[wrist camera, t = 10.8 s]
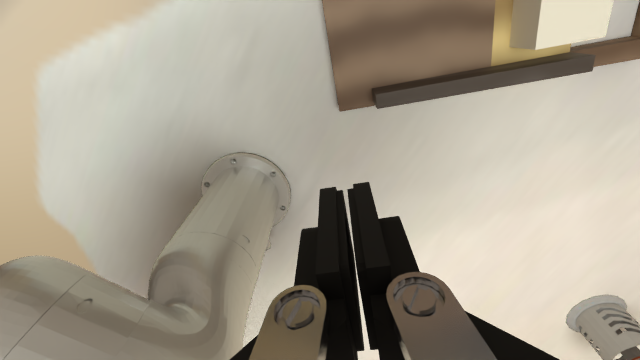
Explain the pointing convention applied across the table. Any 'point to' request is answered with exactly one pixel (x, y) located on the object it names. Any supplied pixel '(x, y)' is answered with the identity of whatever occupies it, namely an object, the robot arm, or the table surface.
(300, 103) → the table surface
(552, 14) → the cream block
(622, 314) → the french press
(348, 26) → the tunnel deck
